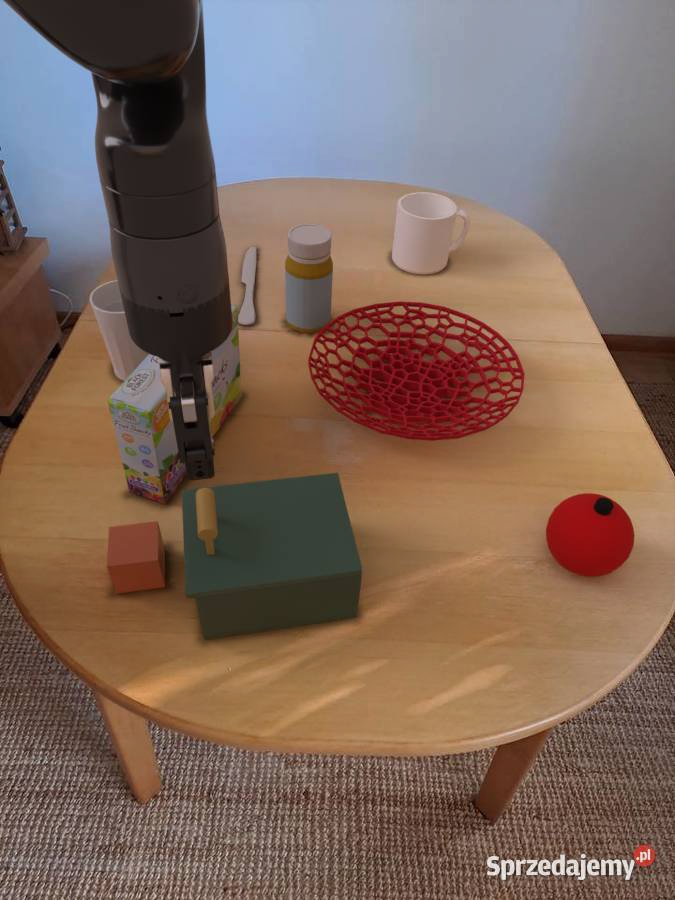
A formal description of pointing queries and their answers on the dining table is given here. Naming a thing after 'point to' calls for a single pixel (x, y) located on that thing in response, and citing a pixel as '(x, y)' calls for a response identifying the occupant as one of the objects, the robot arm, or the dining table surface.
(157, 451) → the snack box
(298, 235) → the bottle
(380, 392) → the bowl
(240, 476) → the dining table surface
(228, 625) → the chest
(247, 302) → the butter knife
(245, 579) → the lid
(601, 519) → the ornament
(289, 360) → the dining table surface
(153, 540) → the block
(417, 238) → the mug
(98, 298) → the cup
